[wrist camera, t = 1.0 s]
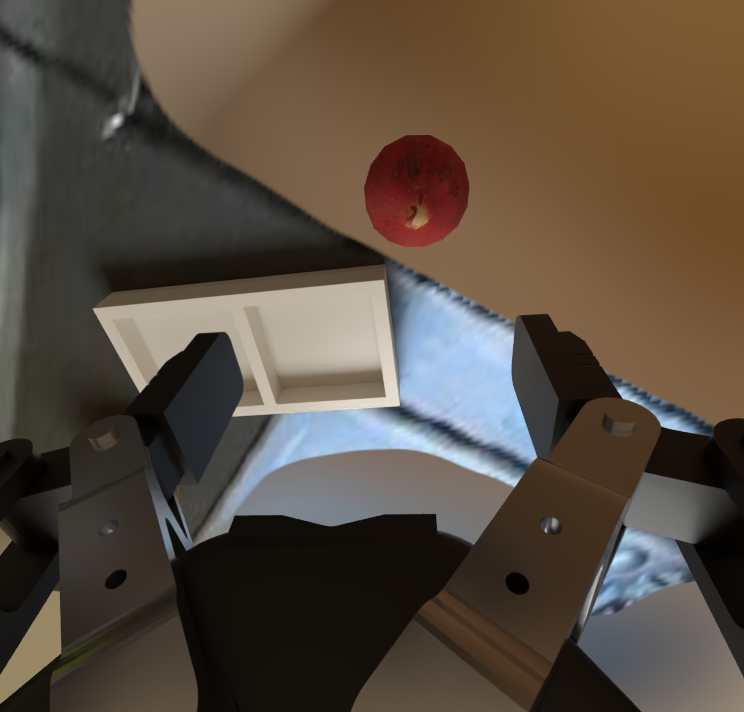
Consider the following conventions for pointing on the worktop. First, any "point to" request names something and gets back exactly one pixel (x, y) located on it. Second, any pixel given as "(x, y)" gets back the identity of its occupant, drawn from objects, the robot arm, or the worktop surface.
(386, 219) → the onion
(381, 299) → the well holder
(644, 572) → the worktop surface
